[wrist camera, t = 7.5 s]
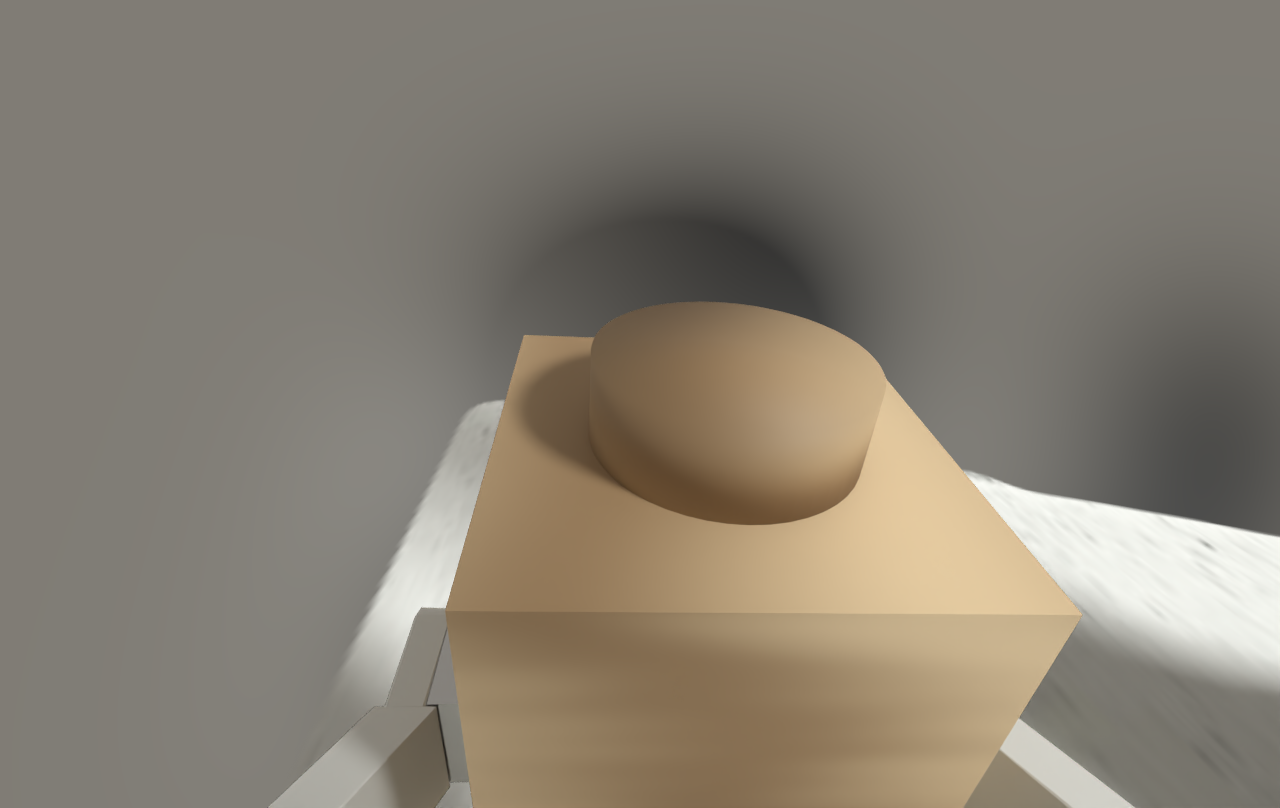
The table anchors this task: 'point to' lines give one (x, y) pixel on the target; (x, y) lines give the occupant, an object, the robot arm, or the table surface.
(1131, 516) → the table surface
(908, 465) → the oak pillar
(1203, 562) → the table surface
